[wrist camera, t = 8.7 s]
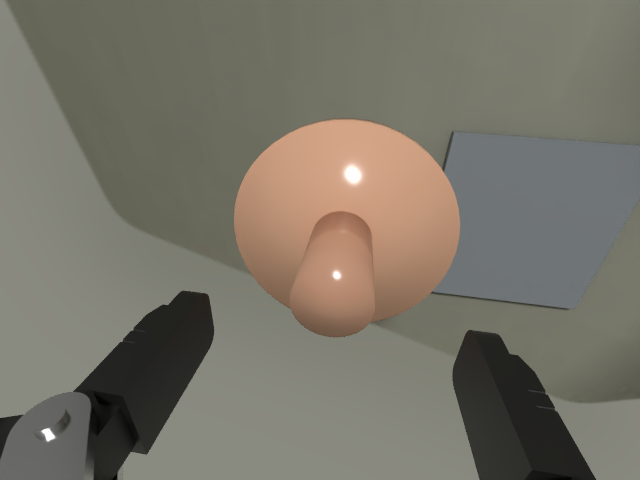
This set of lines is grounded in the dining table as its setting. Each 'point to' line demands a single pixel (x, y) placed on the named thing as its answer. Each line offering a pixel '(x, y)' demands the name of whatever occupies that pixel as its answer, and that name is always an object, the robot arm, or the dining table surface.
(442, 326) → the dining table surface
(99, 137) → the dining table surface
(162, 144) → the dining table surface
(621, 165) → the mat
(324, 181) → the lid
